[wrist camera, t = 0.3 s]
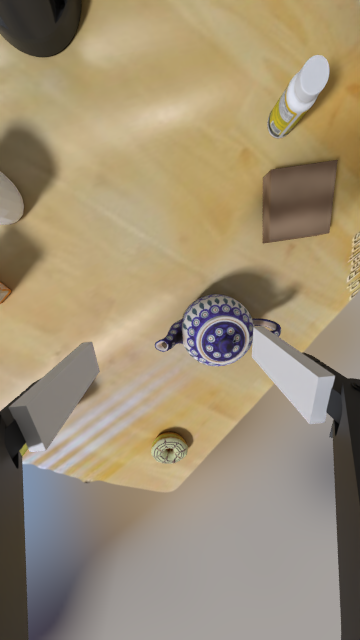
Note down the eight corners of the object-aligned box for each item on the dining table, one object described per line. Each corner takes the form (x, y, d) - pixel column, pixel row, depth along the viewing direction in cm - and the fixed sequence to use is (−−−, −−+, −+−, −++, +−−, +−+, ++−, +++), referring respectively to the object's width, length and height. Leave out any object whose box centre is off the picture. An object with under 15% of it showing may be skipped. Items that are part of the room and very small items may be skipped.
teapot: (262, 288, 41) (310, 300, 27) (256, 345, 45) (295, 382, 31) (155, 293, 40) (147, 309, 26) (160, 351, 45) (156, 392, 30)
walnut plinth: (262, 177, 34) (271, 169, 31) (323, 168, 34) (337, 159, 31) (262, 243, 38) (269, 241, 35) (317, 235, 38) (329, 233, 35)
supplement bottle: (294, 105, 31) (336, 50, 23) (290, 139, 32) (329, 98, 24) (268, 106, 31) (301, 50, 23) (265, 139, 32) (295, 98, 24)
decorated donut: (175, 458, 57) (175, 471, 53) (146, 447, 55) (144, 459, 51) (192, 437, 54) (194, 449, 51) (163, 424, 52) (162, 436, 49)
